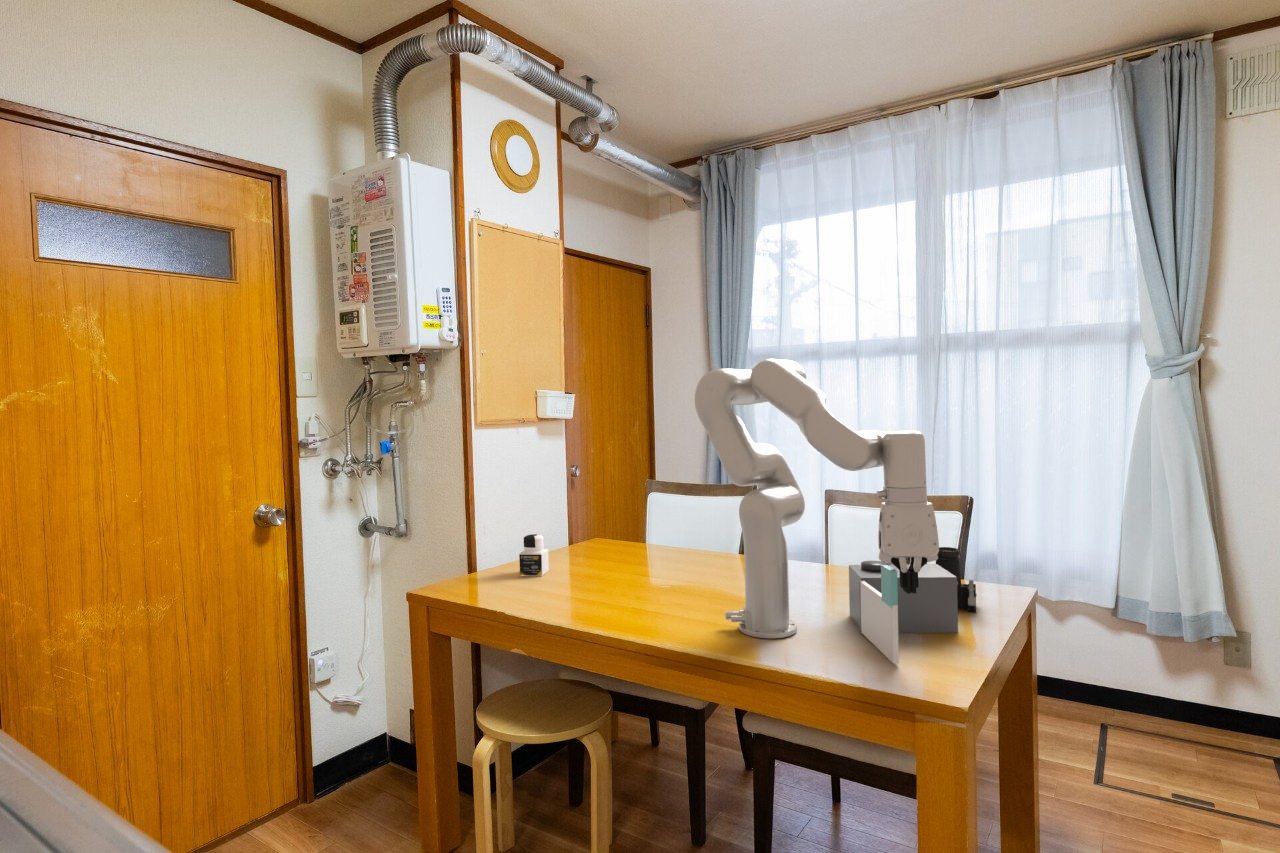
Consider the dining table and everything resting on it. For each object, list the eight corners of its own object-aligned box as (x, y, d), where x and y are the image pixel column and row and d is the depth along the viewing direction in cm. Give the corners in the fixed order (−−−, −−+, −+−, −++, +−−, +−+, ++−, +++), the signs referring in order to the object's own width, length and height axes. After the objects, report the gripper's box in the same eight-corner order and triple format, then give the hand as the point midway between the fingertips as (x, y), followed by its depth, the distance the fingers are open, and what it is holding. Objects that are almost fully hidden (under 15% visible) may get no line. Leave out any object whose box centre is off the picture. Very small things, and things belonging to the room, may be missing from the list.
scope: (975, 554, 155) (928, 551, 160) (976, 613, 156) (929, 609, 160) (976, 547, 163) (931, 545, 167) (977, 604, 163) (932, 600, 168)
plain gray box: (862, 632, 145) (860, 572, 145) (849, 615, 157) (848, 559, 157) (957, 632, 143) (956, 571, 143) (938, 615, 155) (936, 559, 155)
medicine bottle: (519, 576, 204) (518, 537, 204) (527, 570, 211) (526, 533, 211) (542, 576, 203) (540, 537, 203) (549, 571, 210) (547, 533, 210)
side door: (858, 630, 145) (856, 550, 145) (865, 630, 145) (863, 550, 145) (892, 663, 126) (890, 571, 126) (899, 663, 126) (898, 571, 126)
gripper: (870, 499, 124) (874, 597, 125) (953, 496, 123) (957, 596, 123) (860, 494, 132) (864, 587, 132) (939, 492, 131) (942, 586, 131)
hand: (909, 591), depth 128 cm, fingers closed
